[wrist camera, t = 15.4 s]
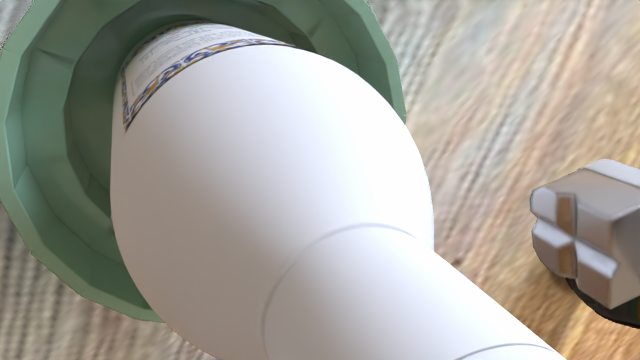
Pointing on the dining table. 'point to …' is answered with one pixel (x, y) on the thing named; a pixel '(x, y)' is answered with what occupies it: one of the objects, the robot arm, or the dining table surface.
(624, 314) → the mate gourd
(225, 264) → the bath foam
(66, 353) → the dining table surface
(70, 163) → the green pet bowl
